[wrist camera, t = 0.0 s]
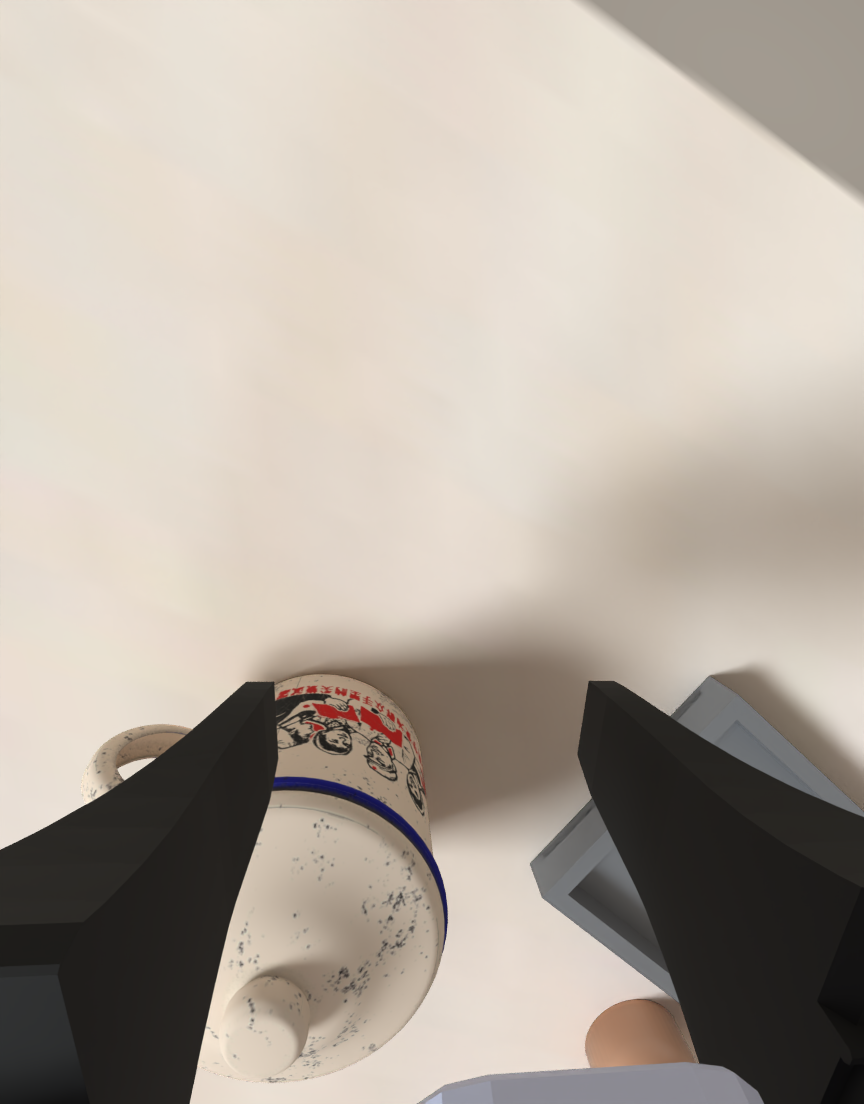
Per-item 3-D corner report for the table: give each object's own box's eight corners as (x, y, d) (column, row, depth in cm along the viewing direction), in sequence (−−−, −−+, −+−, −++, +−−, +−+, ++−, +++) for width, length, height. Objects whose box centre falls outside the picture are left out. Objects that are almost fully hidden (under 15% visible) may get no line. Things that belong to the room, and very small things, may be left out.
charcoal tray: (713, 1006, 27) (738, 1048, 25) (530, 863, 25) (542, 897, 23) (883, 837, 26) (923, 867, 24) (709, 675, 24) (737, 694, 22)
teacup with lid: (464, 723, 24) (536, 963, 12) (364, 889, 24) (343, 1259, 13) (213, 595, 22) (21, 734, 10) (114, 778, 23) (-164, 1093, 11)
